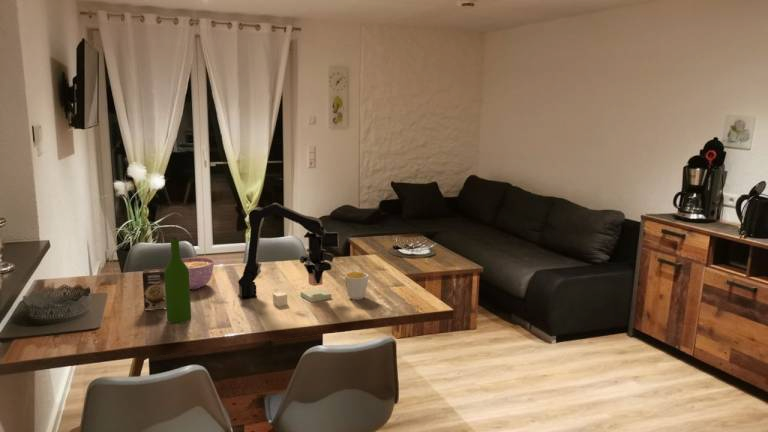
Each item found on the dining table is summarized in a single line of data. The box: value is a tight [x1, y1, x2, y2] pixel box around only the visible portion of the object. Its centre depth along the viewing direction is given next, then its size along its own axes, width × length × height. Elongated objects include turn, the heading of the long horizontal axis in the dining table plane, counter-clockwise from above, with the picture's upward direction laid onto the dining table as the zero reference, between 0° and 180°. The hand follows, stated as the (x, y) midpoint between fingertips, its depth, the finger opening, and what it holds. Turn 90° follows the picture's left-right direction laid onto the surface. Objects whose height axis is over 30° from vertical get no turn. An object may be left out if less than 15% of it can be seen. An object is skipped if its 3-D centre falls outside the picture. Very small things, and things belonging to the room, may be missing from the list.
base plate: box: [300, 287, 332, 303], centre depth 258 cm, size 10×10×2 cm
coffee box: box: [142, 267, 166, 310], centre depth 241 cm, size 9×6×16 cm
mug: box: [344, 271, 369, 301], centre depth 258 cm, size 14×10×10 cm
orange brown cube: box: [308, 273, 324, 287], centre depth 257 cm, size 4×4×4 cm
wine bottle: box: [164, 237, 192, 324], centre depth 227 cm, size 9×9×32 cm
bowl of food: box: [181, 257, 215, 290], centre depth 270 cm, size 20×20×12 cm
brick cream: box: [272, 291, 288, 307], centre depth 249 cm, size 4×4×4 cm
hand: (315, 281), depth 257 cm, fingers closed on orange brown cube, 4 cm apart
